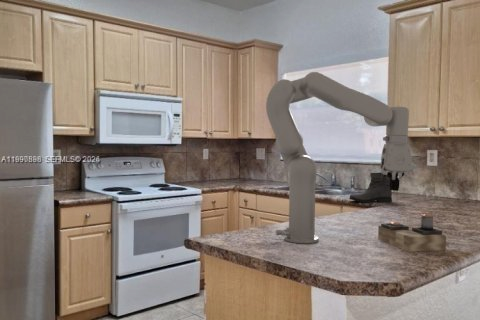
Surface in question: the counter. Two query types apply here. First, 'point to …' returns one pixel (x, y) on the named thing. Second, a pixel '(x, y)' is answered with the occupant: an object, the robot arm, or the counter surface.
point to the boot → (375, 190)
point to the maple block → (412, 237)
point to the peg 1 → (394, 224)
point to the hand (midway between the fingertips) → (394, 190)
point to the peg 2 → (427, 222)
